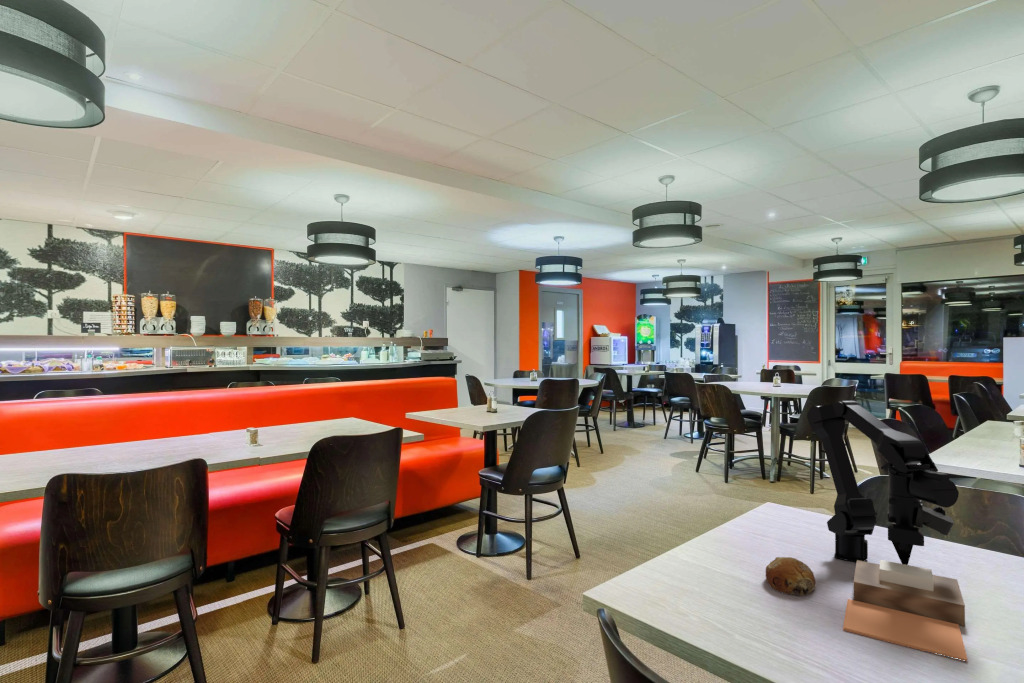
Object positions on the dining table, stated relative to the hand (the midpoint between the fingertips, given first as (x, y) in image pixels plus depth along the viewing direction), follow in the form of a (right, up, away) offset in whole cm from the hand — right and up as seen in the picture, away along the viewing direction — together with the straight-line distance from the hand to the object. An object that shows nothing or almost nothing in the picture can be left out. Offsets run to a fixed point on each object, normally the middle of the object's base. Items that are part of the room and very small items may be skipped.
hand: (904, 563), depth 120 cm
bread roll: (-26, -5, 0) cm, 26 cm away
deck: (-5, -5, -7) cm, 9 cm away
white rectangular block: (-5, 0, -7) cm, 8 cm away
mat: (-14, -5, -18) cm, 24 cm away
